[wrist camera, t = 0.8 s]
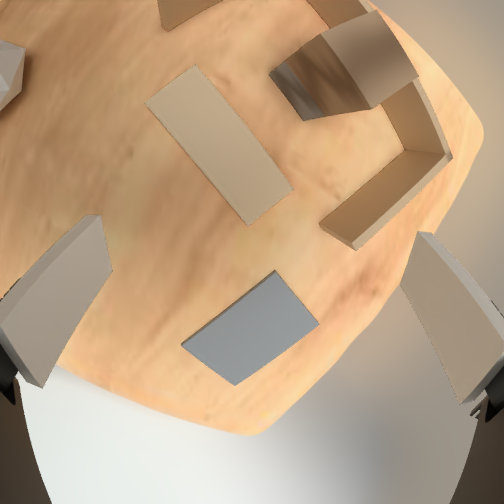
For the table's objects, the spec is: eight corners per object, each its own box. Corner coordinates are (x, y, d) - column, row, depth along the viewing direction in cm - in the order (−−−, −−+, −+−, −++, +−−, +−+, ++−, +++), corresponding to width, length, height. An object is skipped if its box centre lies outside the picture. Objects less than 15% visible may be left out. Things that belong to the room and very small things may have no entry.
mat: (181, 343, 32) (181, 346, 32) (274, 270, 32) (275, 272, 31) (234, 383, 36) (234, 385, 36) (317, 322, 36) (319, 324, 35)
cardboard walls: (110, 64, 21) (90, 40, 14) (283, -33, 20) (305, -63, 13) (280, 265, 32) (303, 295, 25) (412, 152, 31) (452, 157, 24)
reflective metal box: (268, 74, 25) (320, 33, 14) (311, 49, 24) (376, 9, 13) (303, 120, 27) (371, 109, 16) (343, 93, 27) (419, 76, 16)
